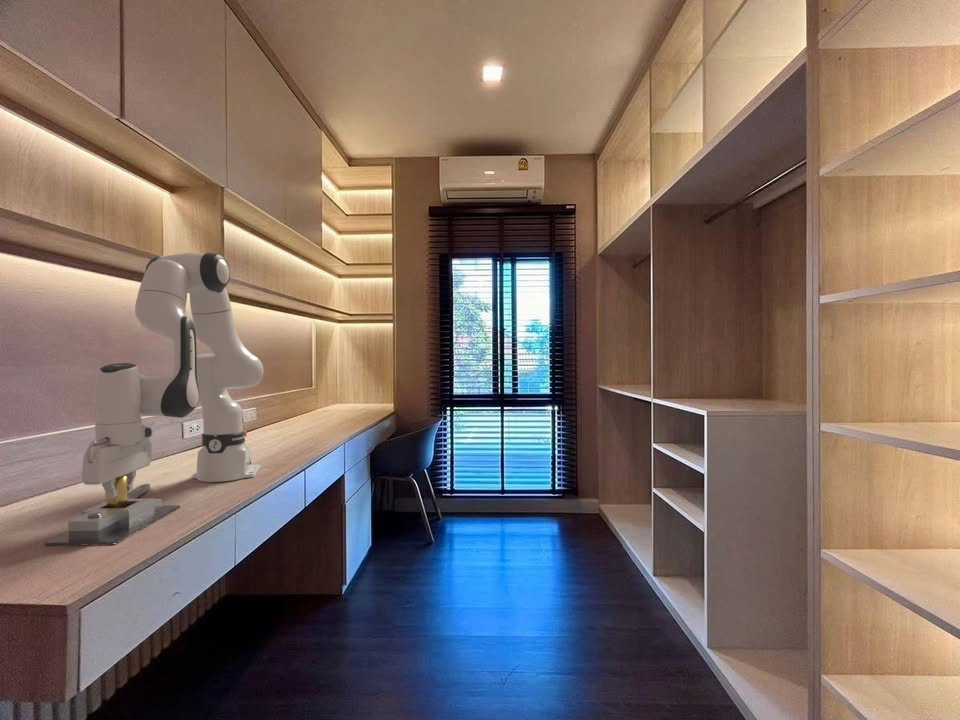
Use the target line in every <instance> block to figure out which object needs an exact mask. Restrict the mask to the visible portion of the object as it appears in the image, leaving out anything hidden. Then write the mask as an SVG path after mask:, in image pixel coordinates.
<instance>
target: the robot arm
mask: <svg viewBox="0 0 960 720" xmlns="http://www.w3.org/2000/svg"><path fill="white" fill-rule="evenodd" d="M144 271H145V272H144V274H143V277H142V280H141V282H140V285H139V289H138V293H137V297H136V300H135V304H134V307H135V308H134V312H135V316H136V319H137V320H138V322H139V323H140V324H141V325H142V326H143V327H144V328H145V329H147V330H149V331H150V332H152V333H155V334H157V335H159V336H162V337H165V338H167V339H169V340H171V341H172V342H173V373H171V375H169V376H148V375H147V376H146V375H144V374H142V373H140V371H139V368H138V365H136V363H135V364H134V363H131V362H130V363H128V362H122V363H121V362H120V363H119V362H118V363H109V364H107V365H104V366H102V367H100V368H99V369H98V371H97V374H96V380H95V385H94V386H95V387H94V405H95V408H96V416H95V417H96V418H95V420H94V421H95V422H94V424H95V425H94V431H95V432H94V435H95V436H94V437H95V438H94V439H95V440H93V441H91V442H90V444H89V446H88V447H87V448H86V451H85V453H84V455H83V459H82V468H81V469H82V472H81V481H82V483H83V484H84V485H87V486H88V485H89V486H91V485H101V486H102V488H103V490H104V491H105V499H106V498H107V499H113V498H115V497H117V496H118V489H115V486H114V483H115V478H118V477H120V476H123V475H126V474H127V493H129V492H130V491H132V490H134V488H133V487H134V486H133V484H134V481H135V479H136V476H137V471H138V470H141V469H143V468H146V467H147V468H148V466H150V465H151V463H152V460H153V440H152V437H153V436H154V429H153V427H152V426H151V427H150V426H148V425H147V426H146V425H144V424H142V423H143V422H142V419H143V418H142V416H146V417H169V418H180V419H182V418H185V417H186V416H188V415H189V414H191V413H192V412H194V410H195V409H196V408H197V407H198V406H199V405H198V404H199V402H200V407H201V409H202V410H201V411H202V421H203V422H202V423H203V433H202V434H201V445H202V448H200V449H199V450H198V452H197V457H196V460H197V461H196V472H195V473H193V474H192V475H191V478H192V479H197V480H198V481H199V482H203V483H204V482H205V483H207V482H209V483H217V482H218V483H219V482H230V481H237V480H242V479H248V478H254V477H255V476H256V474H257V473H258V472H259V471H260V469H261V467H262V466H261V464H257V463H254V452H253V450H251V449H250V448H249V446H248V445H247V444H246V438H245V437H247V435H248V433H247V432H248V431H247V430H243V409H242V407H241V404H239V403H238V402H237V401H235V400H233V398H231V396H230V395H229V392H228V389H231V390H234V389H237V390H238V389H239V390H240V389H241V390H242V389H249V388H252V387H255V386H258V385H259V383H260V382H261V380H262V379H263V377H264V371H265V370H264V367H263V363H262V361H261V360H260V359H259V358H258V357H257V356H256V355H254V354H253V353H251V352H250V351H249V350H248V349H247V348H246V346H245V345H244V343H243V342H242V341H241V339H240V336H239V335H238V332H237V329H236V326H235V320H234V317H233V311H232V306H231V305H232V304H231V301H230V296H229V293H228V290H227V286H228V284H229V282H230V278H231V270H230V265H229V263H228V261H227V260H226V259H225V258H224V256H222V255H221V254H217V253H211V252H206V253H202V252H199V253H198V252H184V253H177V254H169V255H159V256H155V257H152V258H151V259H150V260H149V261H148V263H147V264H146V266H145V270H144ZM188 294H189V304H190V305H189V306H190V312H191V317H192V318H190V317H188V316H187V313H186V312H187V311H186V305H187V301H188V300H187V299H188ZM197 339H198V341H200V342H201V343H202V344H204V345H206V346H208V348H209V349H210V350H211V352H213V353H200V354H197Z"/></svg>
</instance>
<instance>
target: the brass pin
mask: <svg viewBox="0 0 960 720" xmlns="http://www.w3.org/2000/svg"><path fill="white" fill-rule="evenodd" d="M114 486H115V489H118V496H117V497H115V498H113V499H107V498H106V497H105V501H106V508H126V507H127V493H128V492H127V474H126V475H123V476H120V477H118V478H115V483H114Z"/></svg>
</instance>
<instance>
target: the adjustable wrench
mask: <svg viewBox="0 0 960 720" xmlns="http://www.w3.org/2000/svg"><path fill="white" fill-rule="evenodd" d="M149 490H151V484H150V483H145V484H141V485H139V486H136V487H135V488H133V489H132V490H131V491H129V492H127V499H138V497H140V496H141V495H144V494H145V493H146V492H148V491H149Z"/></svg>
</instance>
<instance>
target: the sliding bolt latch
mask: <svg viewBox="0 0 960 720" xmlns="http://www.w3.org/2000/svg"><path fill="white" fill-rule="evenodd" d="M162 503H163V502H162V498H153V497H152V498H150V497H149V498H135V499H127V507H126V508H106V500H105V501H103V502H100V503H99V504H96V505H93V506H91V507H89V508H87V509H84V510H83V511H81V515H80V516H77V517H75V518H73V519H71V520H68V531H67V532H65V533H63V534H61V535H59V536H56V537H54V538H52V539H50V540H47V541H46V542H44V546H46V547H47V546H48V547H50V546H51V547H52V546H53V547H55V546H59V545H60V546H81V545H80V544H113V543H117V542H119V541H121V540H123V539H124V538H126V537H128V536H129V535H131V534H133V533H135V532H136V531H138V530H140V529H141V528H143V527H145V526H147V525H149V524H151V523H152V524H154V523H155V522H154V521H156V520H158V519H159V520H161V519H163V518H164V516H165V515H166V516H168V515H170V514H172V513H173V512H175V511H177V510H179V509H180V508H181V505H179V504H178V505H176V504H175V505H172V504H171V505H170V504H169V505H162ZM178 508H179V509H178ZM176 509H177V510H176ZM171 512H172V513H171ZM169 513H170V514H169ZM167 514H168V515H167ZM166 516H165V517H166ZM162 517H163V518H162ZM160 518H161V519H160ZM159 520H158V521H159ZM153 522H154V523H153ZM156 522H157V521H156ZM152 524H151V525H152ZM149 526H150V525H149ZM147 527H148V526H147ZM145 528H146V527H145ZM140 531H141V530H140ZM138 532H139V531H138ZM135 534H136V533H135ZM133 535H134V534H133ZM131 536H132V535H131ZM128 538H129V537H128ZM126 539H127V538H126ZM124 540H125V539H124ZM124 540H123V541H124ZM121 542H122V541H121ZM119 543H120V542H119ZM117 544H118V543H117Z"/></svg>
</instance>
